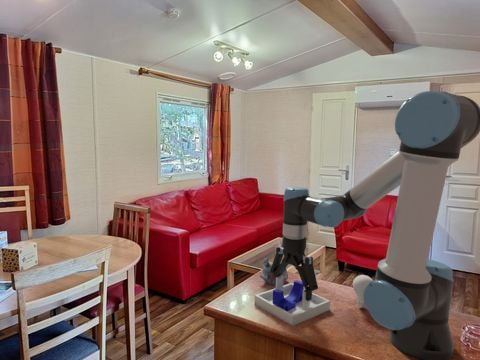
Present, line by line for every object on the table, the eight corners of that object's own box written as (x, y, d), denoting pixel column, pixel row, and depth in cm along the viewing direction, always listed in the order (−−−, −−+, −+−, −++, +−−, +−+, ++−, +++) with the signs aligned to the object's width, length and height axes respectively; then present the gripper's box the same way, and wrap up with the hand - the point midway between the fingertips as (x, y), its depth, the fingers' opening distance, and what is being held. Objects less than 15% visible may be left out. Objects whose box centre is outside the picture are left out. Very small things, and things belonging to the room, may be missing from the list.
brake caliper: (289, 283, 126) (270, 255, 128) (265, 297, 130) (247, 269, 132) (296, 272, 137) (278, 246, 138) (273, 285, 141) (257, 259, 142)
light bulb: (364, 302, 118) (366, 270, 117) (377, 311, 112) (379, 278, 111) (347, 304, 116) (349, 272, 115) (359, 314, 110) (362, 280, 109)
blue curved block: (283, 313, 108) (284, 294, 107) (272, 308, 111) (272, 289, 111) (306, 301, 116) (307, 284, 116) (296, 296, 120) (296, 280, 119)
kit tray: (329, 309, 113) (330, 300, 112) (292, 326, 102) (292, 316, 102) (291, 290, 126) (291, 282, 126) (254, 303, 116) (254, 295, 115)
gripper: (332, 243, 104) (328, 313, 107) (277, 226, 123) (275, 286, 126) (315, 247, 100) (312, 320, 102) (260, 229, 118) (259, 291, 121)
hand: (291, 302), depth 114 cm, fingers open, 11 cm apart
